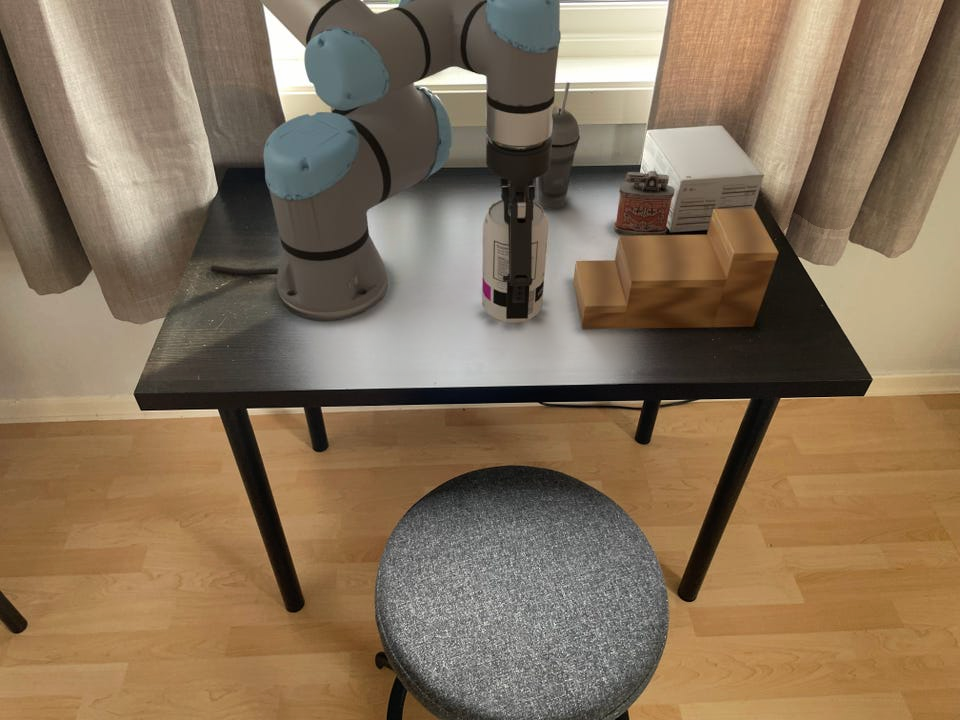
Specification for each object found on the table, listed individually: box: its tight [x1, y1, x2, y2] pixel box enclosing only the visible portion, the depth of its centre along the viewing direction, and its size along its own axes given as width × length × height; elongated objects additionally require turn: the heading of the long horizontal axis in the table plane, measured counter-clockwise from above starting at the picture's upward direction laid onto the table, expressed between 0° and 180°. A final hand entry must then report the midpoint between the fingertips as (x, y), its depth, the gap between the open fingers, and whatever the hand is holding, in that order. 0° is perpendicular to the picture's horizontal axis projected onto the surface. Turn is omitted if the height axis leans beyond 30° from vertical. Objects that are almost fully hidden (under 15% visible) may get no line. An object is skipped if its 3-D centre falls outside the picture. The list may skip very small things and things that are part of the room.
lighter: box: [613, 171, 675, 236], centre depth 111 cm, size 8×3×10 cm, turn 84°
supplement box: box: [639, 124, 765, 233], centre depth 118 cm, size 17×13×9 cm
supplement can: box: [481, 199, 549, 324], centre depth 96 cm, size 8×8×15 cm
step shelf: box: [572, 208, 779, 330], centre depth 98 cm, size 23×10×12 cm, turn 92°
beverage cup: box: [535, 82, 581, 210], centre depth 114 cm, size 7×7×20 cm
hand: (513, 284), depth 99 cm, fingers open, 13 cm apart
